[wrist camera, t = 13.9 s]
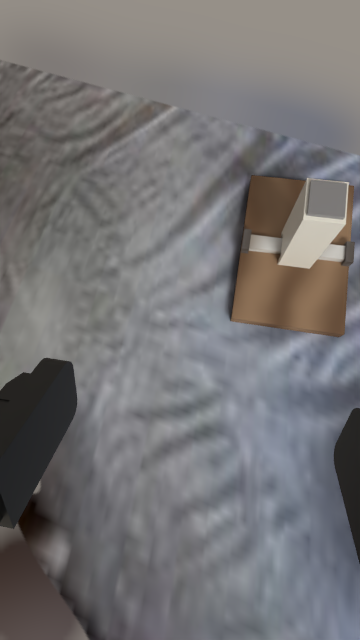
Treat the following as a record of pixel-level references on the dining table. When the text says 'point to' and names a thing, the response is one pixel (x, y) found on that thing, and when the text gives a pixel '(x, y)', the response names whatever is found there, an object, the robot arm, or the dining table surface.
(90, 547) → the dining table surface
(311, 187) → the rail module
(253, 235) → the rail board
